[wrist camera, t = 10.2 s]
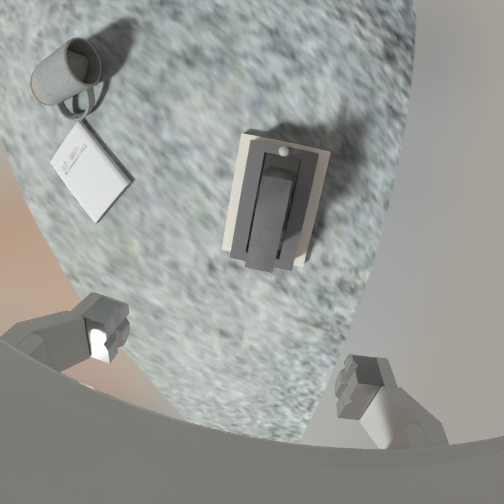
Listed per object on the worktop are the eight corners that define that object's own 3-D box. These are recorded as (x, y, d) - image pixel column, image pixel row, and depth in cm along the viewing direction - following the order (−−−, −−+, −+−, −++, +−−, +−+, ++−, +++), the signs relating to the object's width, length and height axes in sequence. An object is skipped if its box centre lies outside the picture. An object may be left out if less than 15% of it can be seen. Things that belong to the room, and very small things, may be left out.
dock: (243, 133, 33) (234, 132, 28) (329, 151, 32) (336, 153, 27) (223, 246, 38) (213, 262, 33) (302, 263, 37) (303, 282, 33)
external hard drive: (101, 221, 40) (55, 161, 37) (134, 182, 37) (84, 120, 35) (94, 224, 38) (48, 163, 36) (128, 183, 35) (77, 120, 33)
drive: (269, 165, 33) (261, 174, 23) (291, 170, 33) (292, 181, 23) (256, 233, 36) (244, 266, 26) (277, 237, 36) (272, 272, 26)
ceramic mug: (57, 68, 31) (22, 63, 24) (98, 42, 30) (65, 31, 23) (67, 129, 35) (31, 132, 28) (110, 107, 33) (74, 105, 26)
